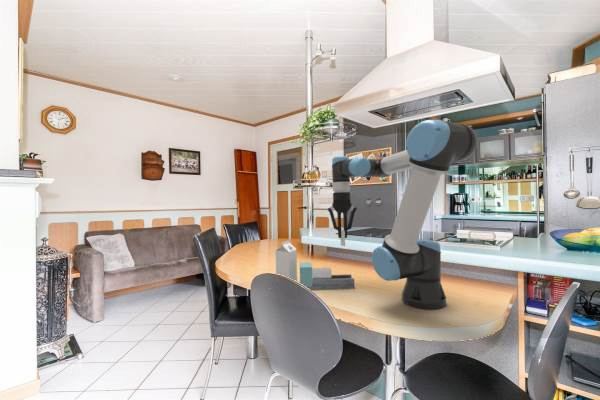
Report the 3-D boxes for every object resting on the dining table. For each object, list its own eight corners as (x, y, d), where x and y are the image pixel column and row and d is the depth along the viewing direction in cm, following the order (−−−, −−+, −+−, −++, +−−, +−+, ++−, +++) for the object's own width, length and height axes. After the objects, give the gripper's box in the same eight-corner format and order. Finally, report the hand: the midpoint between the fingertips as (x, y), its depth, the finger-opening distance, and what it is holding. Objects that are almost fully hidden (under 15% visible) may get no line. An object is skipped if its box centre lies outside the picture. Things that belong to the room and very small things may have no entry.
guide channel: (354, 288, 126) (354, 279, 126) (300, 290, 126) (300, 280, 125) (350, 282, 135) (350, 273, 135) (300, 283, 135) (299, 275, 134)
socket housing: (312, 286, 126) (312, 267, 125) (300, 286, 125) (300, 267, 125) (311, 280, 135) (310, 262, 134) (299, 280, 134) (299, 262, 134)
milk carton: (276, 283, 135) (275, 242, 135) (284, 279, 142) (283, 239, 141) (289, 285, 132) (288, 243, 132) (297, 281, 138) (296, 240, 138)
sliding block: (331, 284, 128) (331, 269, 128) (303, 284, 128) (303, 270, 128) (330, 281, 132) (330, 267, 132) (303, 281, 132) (303, 267, 132)
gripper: (354, 191, 135) (355, 243, 135) (325, 192, 135) (327, 244, 135) (358, 191, 128) (359, 246, 128) (327, 192, 127) (329, 247, 128)
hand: (342, 245), depth 132 cm, fingers closed
